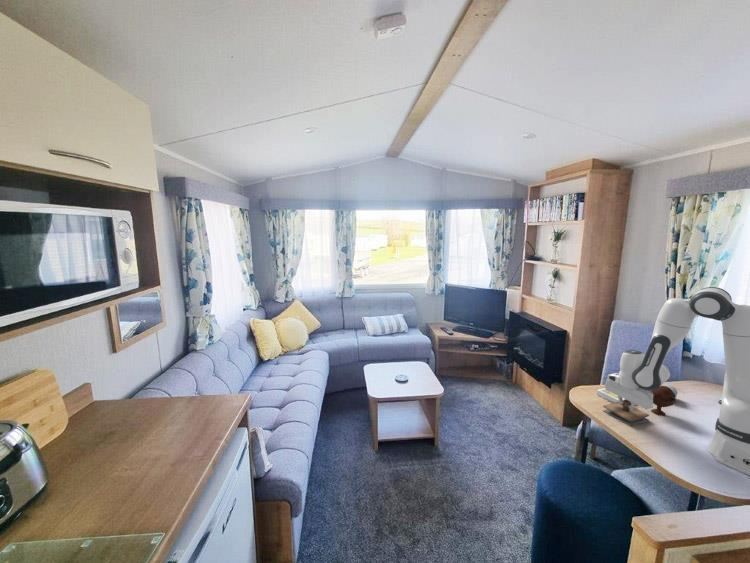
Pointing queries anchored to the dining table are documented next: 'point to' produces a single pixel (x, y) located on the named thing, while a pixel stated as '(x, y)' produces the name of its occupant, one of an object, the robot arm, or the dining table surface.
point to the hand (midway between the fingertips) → (626, 407)
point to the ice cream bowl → (662, 399)
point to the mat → (625, 419)
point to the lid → (626, 411)
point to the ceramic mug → (672, 390)
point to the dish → (608, 395)
